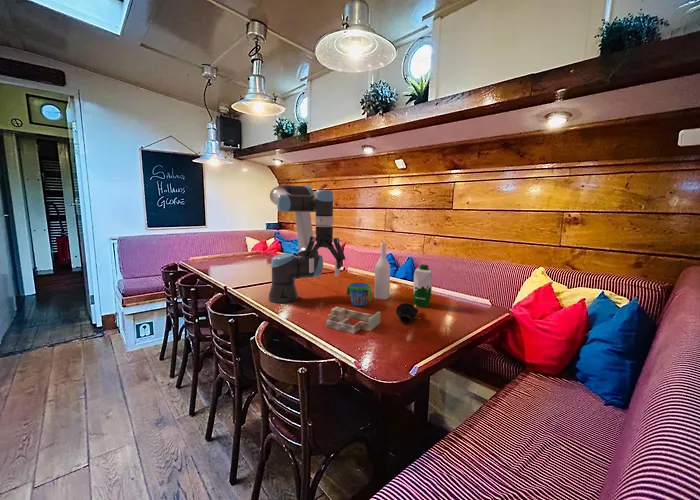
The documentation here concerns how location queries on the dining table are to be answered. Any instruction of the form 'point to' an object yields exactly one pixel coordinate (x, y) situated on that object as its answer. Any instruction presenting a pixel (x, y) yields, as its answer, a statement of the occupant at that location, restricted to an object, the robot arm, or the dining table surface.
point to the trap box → (346, 327)
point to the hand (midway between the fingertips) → (324, 274)
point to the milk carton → (422, 286)
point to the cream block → (338, 313)
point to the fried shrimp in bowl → (407, 312)
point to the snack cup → (359, 293)
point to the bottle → (382, 276)
